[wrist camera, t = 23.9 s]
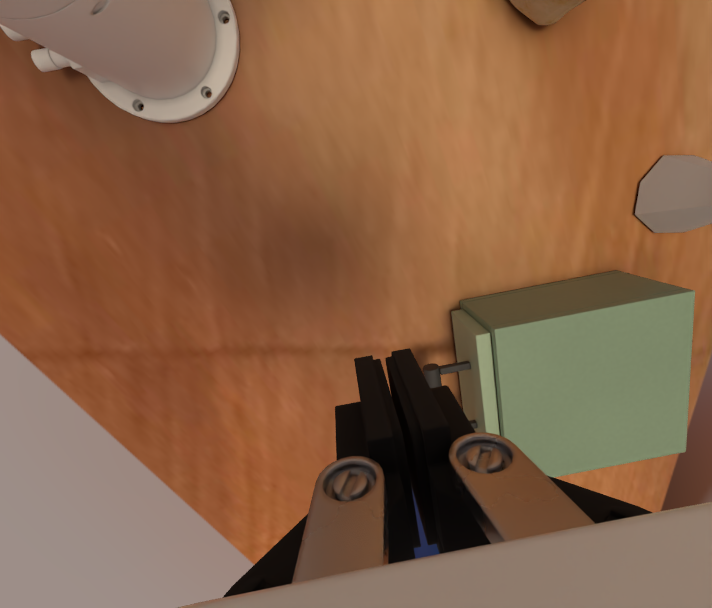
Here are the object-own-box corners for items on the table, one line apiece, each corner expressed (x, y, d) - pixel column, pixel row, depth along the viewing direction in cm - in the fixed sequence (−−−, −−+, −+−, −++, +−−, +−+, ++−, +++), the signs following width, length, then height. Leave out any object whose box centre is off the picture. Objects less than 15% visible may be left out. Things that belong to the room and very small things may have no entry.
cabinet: (474, 429, 42) (508, 486, 34) (459, 300, 38) (494, 329, 30) (616, 401, 42) (685, 451, 34) (616, 270, 38) (695, 290, 30)
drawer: (427, 438, 41) (445, 484, 34) (408, 319, 37) (424, 345, 31) (601, 404, 41) (651, 444, 34) (599, 282, 37) (656, 300, 31)
